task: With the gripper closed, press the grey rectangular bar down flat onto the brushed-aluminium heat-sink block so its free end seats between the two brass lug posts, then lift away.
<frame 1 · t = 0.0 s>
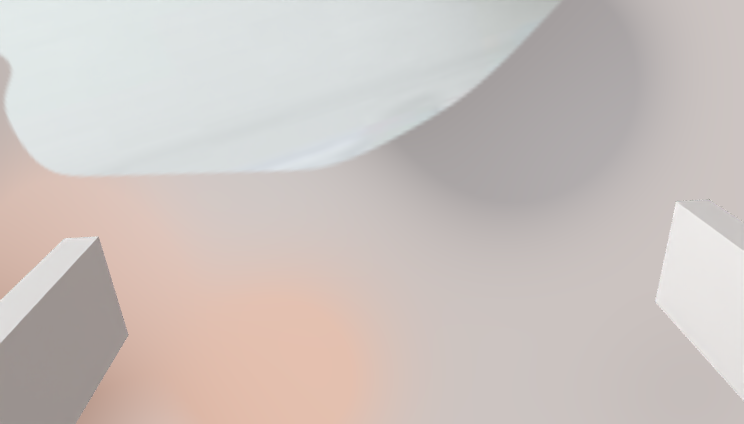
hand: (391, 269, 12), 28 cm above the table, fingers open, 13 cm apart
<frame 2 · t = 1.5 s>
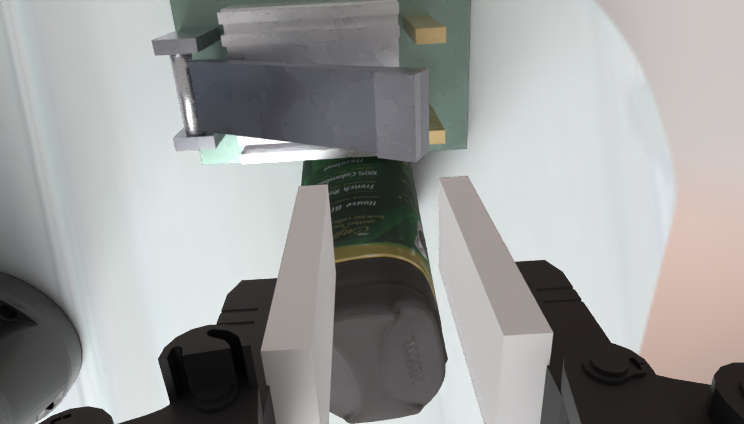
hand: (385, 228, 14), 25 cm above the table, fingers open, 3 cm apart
coffee jar: (359, 176, 41), on the table, touching heatsink base
grey rectangular bar: (297, 105, 28), point 10 cm above the table, hinge at 30.0°
heatsink base: (320, 69, 37), on the table
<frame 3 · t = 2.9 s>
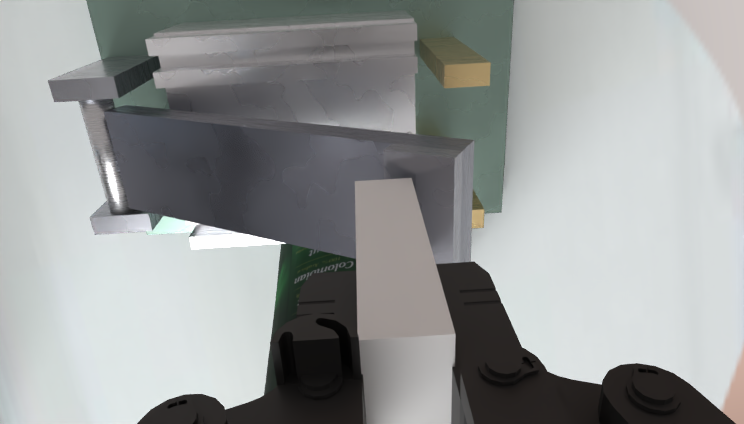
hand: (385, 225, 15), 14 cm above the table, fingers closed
coffee jar: (358, 244, 31), on the table, touching heatsink base
grey rectangular bar: (262, 183, 18), point 10 cm above the table, hinge at 30.0°, touching gripper
heatsink base: (305, 109, 27), on the table
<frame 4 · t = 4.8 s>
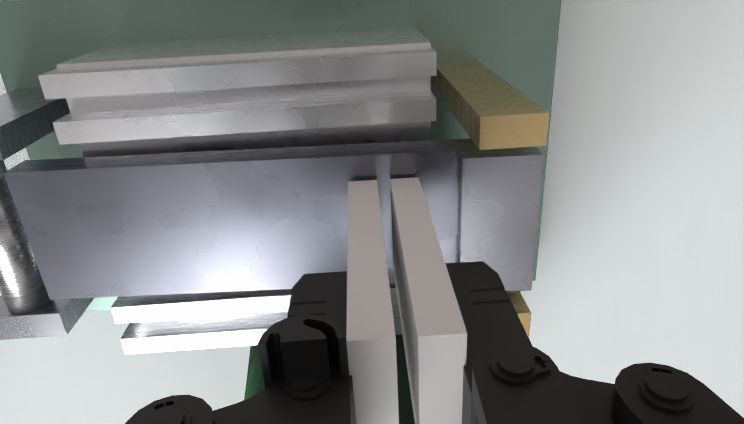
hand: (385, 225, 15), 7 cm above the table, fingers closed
coffee jar: (353, 315, 25), on the table, touching heatsink base
grey rectangular bar: (278, 225, 15), point 6 cm above the table, hinge at 2.7°, touching gripper
heatsink base: (283, 153, 21), on the table
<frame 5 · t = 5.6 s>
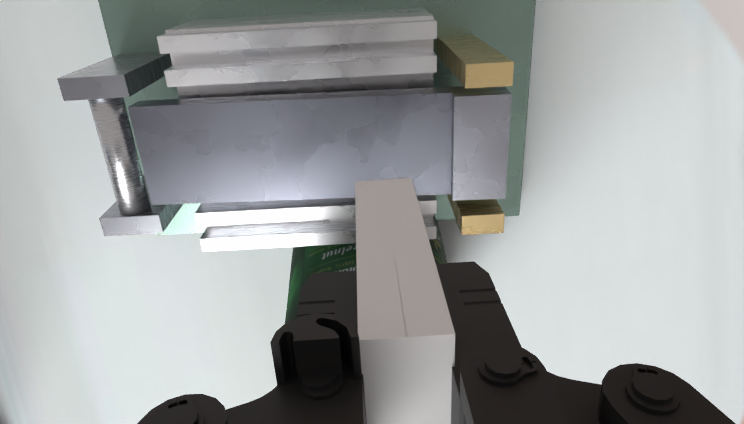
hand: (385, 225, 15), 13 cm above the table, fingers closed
coffee jar: (371, 247, 30), on the table, touching heatsink base
grey rectangular bar: (320, 149, 21), point 6 cm above the table, hinge at 2.7°
heatsink base: (319, 108, 26), on the table
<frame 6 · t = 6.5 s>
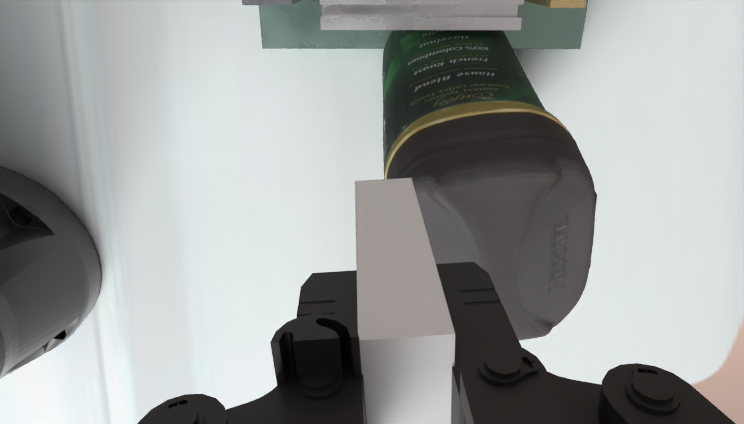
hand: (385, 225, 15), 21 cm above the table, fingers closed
coffee jar: (443, 82, 34), on the table, touching heatsink base
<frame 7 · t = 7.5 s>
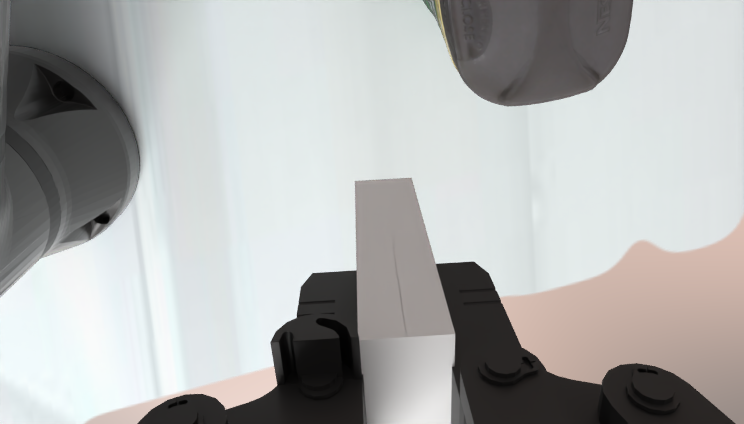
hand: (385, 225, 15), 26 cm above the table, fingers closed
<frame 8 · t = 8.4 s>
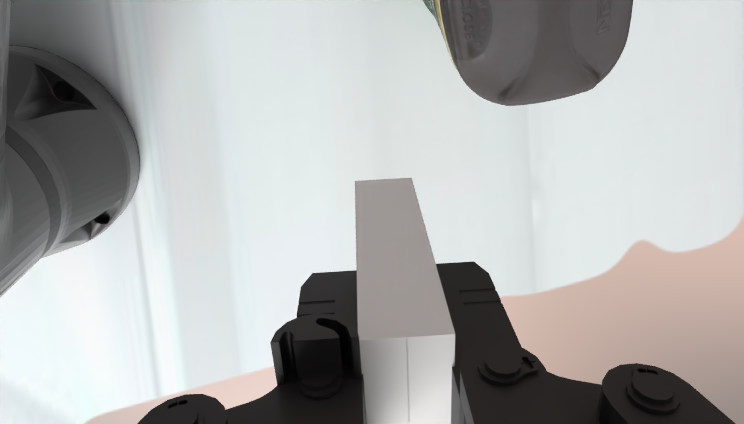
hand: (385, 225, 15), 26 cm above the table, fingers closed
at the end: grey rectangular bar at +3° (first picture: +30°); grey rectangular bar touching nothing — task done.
